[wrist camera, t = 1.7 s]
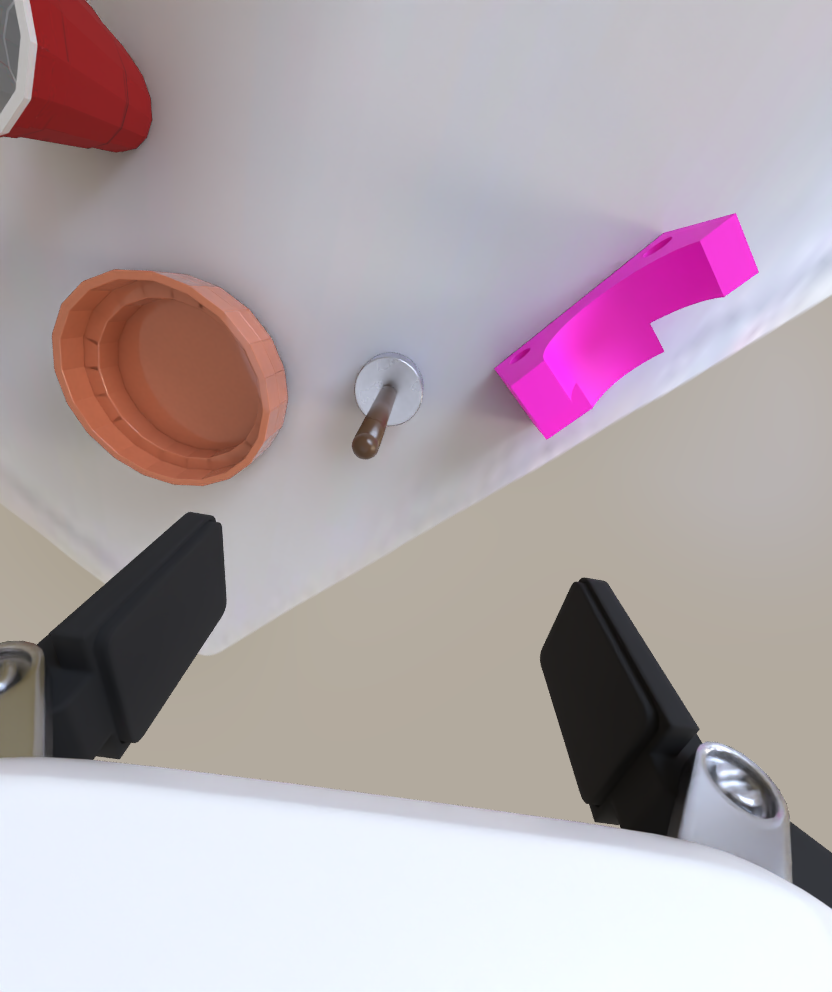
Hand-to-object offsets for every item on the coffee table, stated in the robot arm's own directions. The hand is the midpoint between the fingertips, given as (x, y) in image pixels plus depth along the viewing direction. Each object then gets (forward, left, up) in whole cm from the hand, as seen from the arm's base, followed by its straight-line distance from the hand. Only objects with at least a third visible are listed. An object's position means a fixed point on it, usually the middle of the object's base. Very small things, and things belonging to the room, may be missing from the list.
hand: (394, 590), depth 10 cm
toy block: (+5, +14, -27) cm, 31 cm away
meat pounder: (-1, -2, -27) cm, 27 cm away
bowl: (-11, -16, -27) cm, 33 cm away
